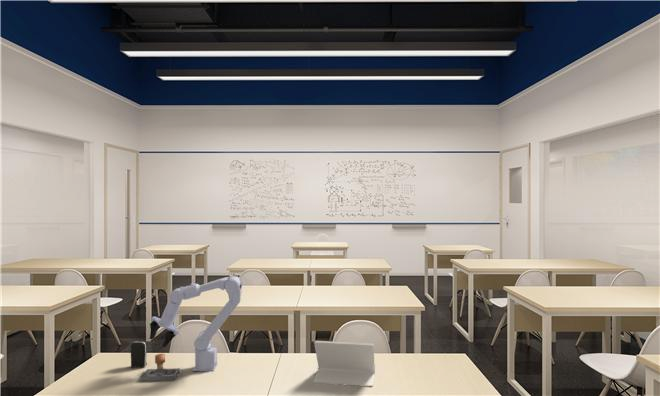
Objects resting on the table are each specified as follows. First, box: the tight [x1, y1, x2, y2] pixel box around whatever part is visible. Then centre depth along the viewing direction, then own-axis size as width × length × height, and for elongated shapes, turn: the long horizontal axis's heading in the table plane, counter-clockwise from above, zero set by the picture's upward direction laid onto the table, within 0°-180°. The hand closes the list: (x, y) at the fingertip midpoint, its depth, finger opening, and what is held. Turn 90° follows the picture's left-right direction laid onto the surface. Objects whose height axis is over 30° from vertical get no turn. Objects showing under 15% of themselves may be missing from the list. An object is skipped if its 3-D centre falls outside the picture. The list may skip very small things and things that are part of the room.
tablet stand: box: [313, 340, 376, 387], centre depth 180 cm, size 18×25×17 cm
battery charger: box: [130, 340, 149, 368], centre depth 192 cm, size 7×4×11 cm, turn 85°
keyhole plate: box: [139, 367, 181, 383], centre depth 179 cm, size 14×8×2 cm, turn 93°
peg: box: [154, 353, 166, 369], centre depth 187 cm, size 4×4×6 cm
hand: (157, 342), depth 187 cm, fingers open, 7 cm apart
